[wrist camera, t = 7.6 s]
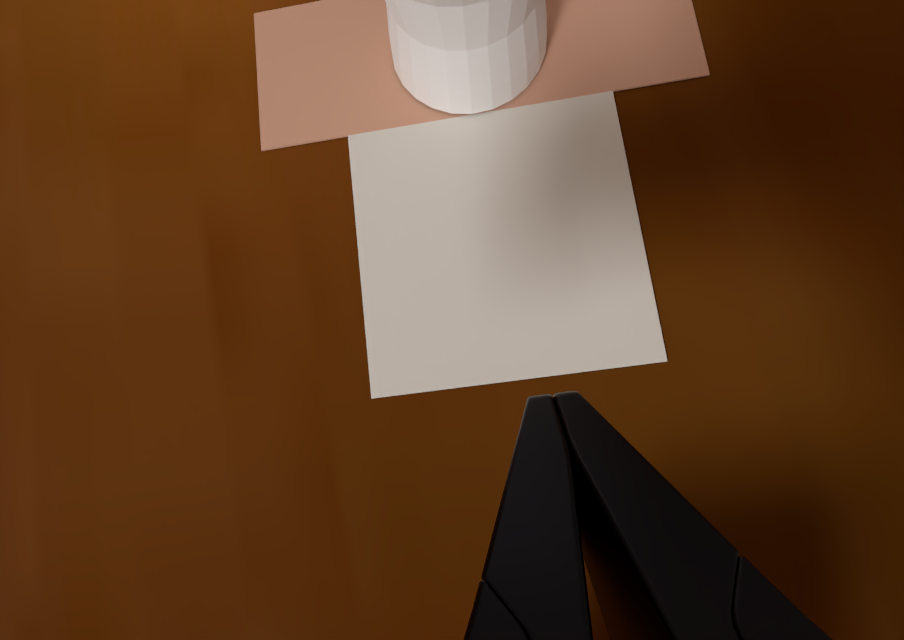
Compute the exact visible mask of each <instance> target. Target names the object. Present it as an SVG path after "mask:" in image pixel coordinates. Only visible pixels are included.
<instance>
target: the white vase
mask: <svg viewBox="0 0 904 640" xmlns="http://www.w3.org/2000/svg"><path fill="white" fill-rule="evenodd" d="M385 2H386V7H387V20H388V32H389V38H390V45H391V51H392V57H393V63H394V68H395V71H396V73H397V75H398V77H399V79H400V81H401V83H402V85H403V86H404V87H405V88H406V89H407V90H408V91H409V92H410V93H411V94H412V95H413V96H414V97H415V98H416V99H417V100H419V101H421V102H422V103H424V104H426V105H427V106H429V107H431V108H433V109H437V110H440V111H444V112H448V113H451V114H474V113H479V112H483V111H488V110H492V109H495V108H497V107H499V106H501V105H503V104H505V103H507V102H509V101H511V100H513V99H514V98H515V97H516V96H517V95H519V94H520V93H521V92H522V91H523V90H525V89H526V88H527V87H528V86H529V84H530V83H531V81H532V80H533V79H534V77H535V76H536V74H537V73H538V72H539V70H540V67H541V64H542V62H543V59H544V56H545V53H546V40H547V12H546V1H545V0H385Z"/></svg>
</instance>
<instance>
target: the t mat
mask: <svg viewBox="0 0 904 640" xmlns="http://www.w3.org/2000/svg"><path fill="white" fill-rule="evenodd" d="M545 1H546V12H547V40H546V53H545V56H544V59H543V62H542V64H541V67H540V70H539V72H538V73H537V74H536V76H535V77H534V79H533V80H532V81H531V83H530V84H529V86H528V87H527V88H526V89H525V90H523V91H522V92H521V93H520V94H519V95H517V96H516V97H515V98H514V99H513V100H511V101H509V102H507V103H505V104H503V105H501V106H499V107H497V108H495V109H492V110H488V111H483V112H479V113H474V114H451V113H448V112H444V111H440V110H437V109H433V108H431V107H429V106H427V105H426V104H424V103H422V102H421V101H419V100H417V99H416V98H415V97H414V96H413V95H412V94H411V93H410V92H409V91H408V90H407V89H406V88H405V87H404V86H403V85H402V83H401V81H400V79H399V77H398V75H397V73H396V71H395V68H394V63H393V57H392V51H391V45H390V38H389V32H388V20H387V7H386V2H385V0H321V1H316V2H311V3H306V4H300V5H295V6H290V7H285V8H280V9H274V10H269V11H264V12H259V13H254V24H255V43H256V62H257V80H258V99H259V118H260V136H261V150H262V151H266V150H272V149H278V148H284V147H290V146H296V145H302V144H308V143H313V142H319V141H325V140H331V139H337V138H343V137H348V142H349V154H350V165H351V176H352V187H353V198H354V209H355V221H356V232H357V243H358V254H359V265H360V276H361V288H362V299H363V310H364V321H365V332H366V343H367V355H368V366H369V377H370V388H371V399H372V398H380V397H388V396H396V395H404V394H412V393H420V392H428V391H436V390H444V389H452V388H460V387H468V386H476V385H483V384H491V383H499V382H507V381H515V380H523V379H531V378H539V377H547V376H555V375H563V374H571V373H579V372H587V371H595V370H603V369H611V368H619V367H627V366H635V365H643V364H651V363H658V362H666V361H667V356H666V351H665V346H664V341H663V336H662V331H661V326H660V321H659V317H658V312H657V307H656V302H655V297H654V292H653V287H652V282H651V277H650V272H649V267H648V262H647V257H646V252H645V247H644V242H643V238H642V233H641V228H640V223H639V218H638V213H637V208H636V203H635V198H634V193H633V188H632V183H631V178H630V173H629V168H628V164H627V159H626V154H625V149H624V144H623V139H622V134H621V129H620V124H619V119H618V114H617V109H616V104H615V99H614V94H613V92H616V91H621V90H627V89H633V88H639V87H645V86H651V85H657V84H663V83H669V82H675V81H681V80H687V79H692V78H698V77H704V76H709V75H710V73H709V69H708V65H707V61H706V57H705V52H704V48H703V44H702V40H701V36H700V32H699V28H698V24H697V20H696V16H695V12H694V8H693V4H692V0H545Z"/></svg>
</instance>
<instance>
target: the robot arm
mask: <svg viewBox="0 0 904 640" xmlns="http://www.w3.org/2000/svg"><path fill="white" fill-rule="evenodd" d="M583 557H584V559H583ZM584 560H585V563H586V566H587V569H588V572H589V575H590V578H591V582H592V585H593V588H594V591H595V594H596V597H597V600H598V603H599V606H600V609H601V612H602V615H603V618H604V621H605V624H606V627H607V630H608V633H609V637H610V640H832V639H831V638H830V637H829V636H828V635H826V634H825V633H824V632H823V631H822V630H821V629H820V628H818V627H817V626H816V625H815V624H814V623H813V622H812V621H810V620H809V619H808V618H807V617H806V616H805V615H804V614H803V613H802V612H801V611H800V610H799V609H798V608H797V607H796V606H795V605H794V604H792V603H791V602H790V601H789V600H788V599H787V598H786V597H785V596H784V595H783V594H782V593H781V592H780V591H779V590H778V589H777V588H776V587H775V586H773V585H772V584H771V583H770V582H769V581H768V580H767V579H766V578H765V577H764V576H763V575H762V574H761V573H760V572H759V571H758V570H757V569H756V568H755V567H754V566H753V565H752V564H751V563H750V562H749V561H748V560H747V559H746V558H745V557H744V556H740V557H739V552H738V550H737V549H736V548H735V547H734V546H733V545H732V544H731V543H730V542H729V541H728V540H727V539H726V538H725V537H724V536H723V535H722V534H721V533H720V532H719V531H718V530H717V529H716V528H715V527H714V526H713V525H712V524H711V523H710V522H709V521H708V520H707V519H706V518H705V517H704V516H703V515H702V514H701V513H700V512H699V511H698V510H696V509H695V508H694V507H693V506H692V505H691V504H690V503H689V502H688V501H687V500H686V499H685V498H684V497H683V496H682V495H681V494H680V493H679V492H678V491H677V490H676V489H675V488H674V487H673V486H672V485H671V484H670V483H669V482H668V481H667V480H666V479H665V478H664V477H663V476H662V475H661V474H660V473H659V472H658V471H657V470H656V469H655V468H654V467H653V466H652V465H651V464H650V463H649V462H648V461H647V460H646V459H645V458H644V457H643V456H642V455H641V454H640V453H639V452H638V451H637V450H636V449H635V448H634V447H633V446H632V445H631V444H630V443H629V442H628V441H627V440H626V439H625V438H624V437H623V436H622V435H621V434H620V433H619V432H618V431H617V430H616V429H615V428H614V427H613V426H612V425H611V424H610V423H609V422H608V421H607V420H606V419H605V418H604V417H603V416H602V415H601V414H600V413H599V412H598V411H597V410H596V409H595V408H594V407H593V406H592V405H591V404H590V403H589V402H588V401H587V400H586V399H584V398H583V397H582V396H581V395H580V394H579V393H578V392H576V391H570V392H562V393H556V394H554V395H553V397H552V396H551V395H550V394H545V395H537V396H530V397H529V398H528V399H527V403H526V406H525V410H524V414H523V418H522V422H521V426H520V430H519V433H518V437H517V441H516V445H515V449H514V453H513V457H512V460H511V464H510V468H509V472H508V476H507V480H506V484H505V487H504V491H503V495H502V499H501V503H500V507H499V510H498V514H497V518H496V522H495V526H494V530H493V534H492V537H491V541H490V545H489V549H488V553H487V557H486V561H485V564H484V568H483V572H482V581H480V583H479V586H478V590H477V594H476V598H475V602H474V605H473V609H472V613H471V616H470V619H469V623H468V626H467V630H466V633H465V636H464V640H593V635H592V627H591V618H590V610H589V601H588V593H587V585H586V576H585V568H584Z"/></svg>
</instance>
